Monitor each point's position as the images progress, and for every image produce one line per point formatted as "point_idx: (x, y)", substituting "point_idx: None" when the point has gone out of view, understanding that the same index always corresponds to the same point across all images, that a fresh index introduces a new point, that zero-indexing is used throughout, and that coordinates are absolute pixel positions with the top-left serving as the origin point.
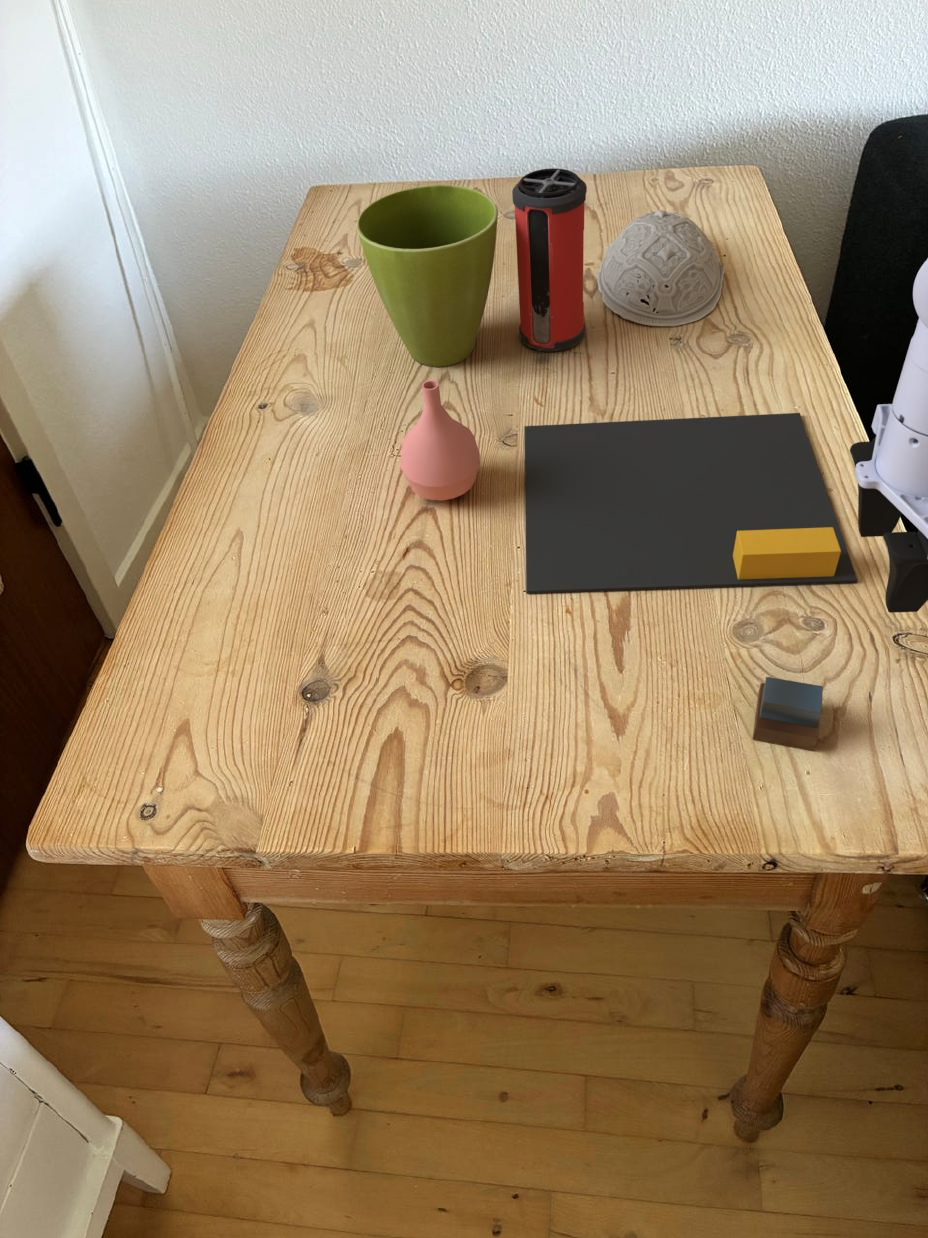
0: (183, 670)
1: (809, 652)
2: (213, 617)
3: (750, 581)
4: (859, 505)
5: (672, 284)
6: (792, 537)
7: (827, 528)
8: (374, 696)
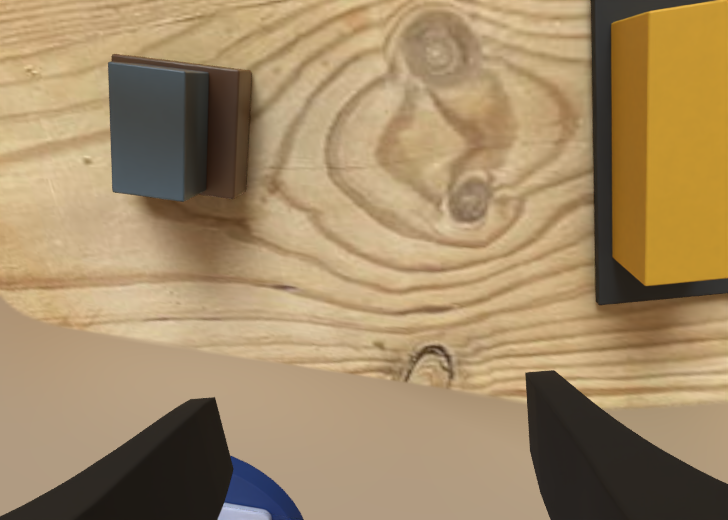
0: None
1: (384, 186)
2: None
3: (603, 57)
4: (594, 420)
5: None
6: (714, 165)
7: None
8: None
